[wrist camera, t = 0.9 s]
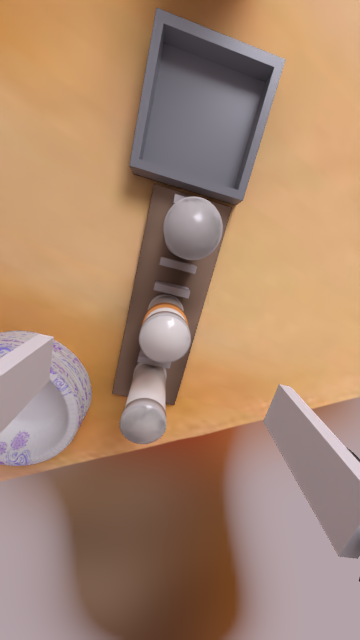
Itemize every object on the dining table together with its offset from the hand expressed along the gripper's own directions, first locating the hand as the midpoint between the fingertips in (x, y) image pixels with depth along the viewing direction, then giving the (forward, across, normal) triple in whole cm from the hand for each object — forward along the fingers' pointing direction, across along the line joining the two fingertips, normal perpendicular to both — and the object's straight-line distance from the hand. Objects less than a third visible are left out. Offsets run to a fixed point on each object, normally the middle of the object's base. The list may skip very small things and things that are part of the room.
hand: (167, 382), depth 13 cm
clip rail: (+17, 0, 0) cm, 17 cm away
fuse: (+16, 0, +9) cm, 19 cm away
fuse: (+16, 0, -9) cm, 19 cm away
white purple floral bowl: (+17, -14, -13) cm, 26 cm away
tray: (+17, -1, +20) cm, 26 cm away
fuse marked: (+16, 0, 0) cm, 17 cm away
